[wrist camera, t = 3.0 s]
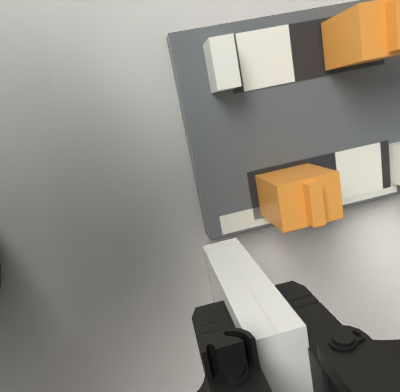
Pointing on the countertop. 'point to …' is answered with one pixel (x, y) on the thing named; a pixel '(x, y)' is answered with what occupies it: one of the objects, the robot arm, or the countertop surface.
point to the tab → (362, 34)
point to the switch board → (281, 113)
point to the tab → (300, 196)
